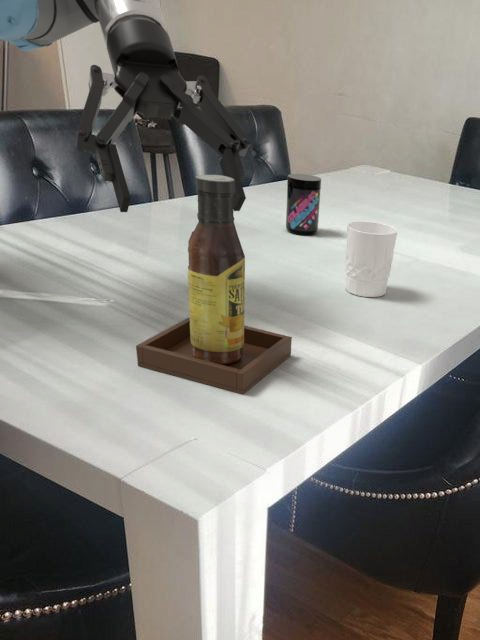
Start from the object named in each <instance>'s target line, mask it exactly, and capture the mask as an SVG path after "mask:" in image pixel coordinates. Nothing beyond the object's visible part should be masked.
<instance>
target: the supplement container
mask: <svg viewBox="0 0 480 640" xmlns="http://www.w3.org/2000/svg"><path fill="white" fill-rule="evenodd" d="M286 181H287V183H286V186H287V187H286V215H285V229H286V231H287V232H288V233H290V234H294V235H298V236H314V235H315V234H317V233H318V230H319V219H320V201H321V189H322V178H321V177H319V176H317V175H312V174H305V173H290V174H288V175H287V180H286Z"/></svg>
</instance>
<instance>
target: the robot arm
mask: <svg viewBox="0 0 480 640" xmlns="http://www.w3.org/2000/svg"><path fill="white" fill-rule="evenodd" d="M97 23H99V26H100V30H101V33H102V37H103V41H104V43H105V47H106V51H107V55H108V58H109V61H110V64H111V68H112V72H113V73H108V72H103V71H102V68H101V67H100V66H99V65H97V64H91V66H90V68H89V77H88V90H89V91H88V93H87V94H88V95H87V97H86V101H85V103H84V107H83V109H82V113H81V116H80V120H79V123H78V126H77V129H76V137H75V149H76V150H77V151H78V152H79V153H85V152H89V153H91V154H93V155H92V157H93V159H94V161H96V162H97V165H98V169H99V172H100V176H101V178H102V179H103V181H104V182H111V184H112V186H113V189H114V193H115V197H116V202H117V204H118V208H119V211H120V213H128V211H129V206H130V202H131V194H130V190H129V187H128V184H127V180H126V177H125V173H124V169H123V166H122V162H121V159H120V155H119V152H118V148H117V145H116V143H115V142H116V141H117V140H118V139H119V137H120V136H121V134H122V133H123V131H124V130H125V128H126V127H127V126H128V124H129V123H131V122H132V121H133V119H134V118H135V116H136V115H137V113H138V114H140V115H141V116H143V118H150V119H151V118H154V117H155V118H156V117H157V118H160V119H164V120H165V119H166V120H167V119H168V120H170V119H171V118H173V119H174V120H175V121H176V122H177V123H178V124H179V125H181V126H186V127H187V128H188V129H189V130H190V131H192V132H193V133H194V134H195V135H196V136H197V137H199V138H200V139H201V140H202V141H203V142H204V143H205V144H207V145H208V146H209V147H210V148H211V149H212V150H213V151H214V152H216V153H217V155H219V156H220V157H221V159H220V161H219V165H220V169H221V172H222V176H227V177H230V178H233V179H234V180H235V193H234V195H233V212H240V211H241V209H242V207H243V205H244V203H245V201H246V200H247V197H246V194H245V190H244V186H243V183H242V182H243V179H244V178H245V169H244V166H243V163H242V159H241V158H245V157H246V155H247V153H248V150H249V148H250V146H251V142H252V141H251V139H250V138H249V136H247V135H248V134H246V133H245V131H244V129H242V128H241V126H240V125H239V124H238V122H237V121H236V120H235V119H234V117H233V116H232V115H231V114H230V112H229V111H228V110H227V109H226V107H225V106H224V105H223V104H222V102H221V101H220V100H219V98H218V97H217V96H216V95H215V93H214V92H213V91H212V88H211V85H210V83H209V81H208V78H207V77H206V76H205V75H198V76H197V79H196V80H189V81H188V80H185V79H184V78H183V77H182V75H181V73H180V71H179V65H178V62H177V58H176V55H175V54H176V53H175V51H174V47H173V44H172V41H171V37H170V35H169V31H168V27H167V24H166V21H165V18H164V15H163V11H162V7H161V4H160V1H159V0H0V42H9V43H10V44H12V45H14V46H15V47H16V48H17V49H18V50H20V51H22V52H33V51H35V50H37V49H41V48H44V47H47V48H48V47H50V46H51V45H53V43H55V42H56V41H59V40H61V39H63V38H65V37H67V36H69V35H71V34H73V33H75V32H79V31H80V30H82V29H84V28H86V27H89V26H90V25H92V24H97ZM110 89H114V91H115V93H117V95H119V96H120V98H122V99H121V101H120V103H119V104H118V105H117V107H116V108H115V109H114V110H113V112H112V113H111V115H110V116H109V117H108V119H107V120H106V122H105V123H104V125H103V126H102V127H101V128H100V130H99V131H98V132H97V134H93V131H94V128H95V125H96V122H97V118H98V116H99V112H100V107H101V105H102V100H103V99H102V98H103V97H105V96H106V95H107V94H109V93H110ZM196 104H197V105H198V106H196ZM181 106H182V107H181ZM180 107H181V109H180Z"/></svg>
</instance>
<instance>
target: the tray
mask: <svg viewBox="0 0 480 640" xmlns="http://www.w3.org/2000/svg"><path fill="white" fill-rule="evenodd" d="M292 340H293V337H292V336H289V335H285V334H281V333H277V332H274V331H273V332H272V331H269V330H264V329H261V328H257V327H254V326H253V327H252V326H248V325H244V346H243V355H242V357H241V359H239V360H238V361H236V362H234V363H231V364H225V365H220V364H216V363H213V362H209V361H205V360H201V359H197V358H194V356H193V354H192V344H191V340H190V316H188V317H187V318H184V319H183V320H180V321H179V322H178V323H176V324H174V325H172V326H170V327H168V328H166V329H164V330H162V331H160V332H158V333H157V334H155V335H153V336H152V337H149V338H148V339H146V340H144V341H142V342H140V343H138V344H136V345H135V348H136V361H137V366H138V367H141V368H145V369H148V370H152V371H155V372H159V373H163V374H167V375H171V376H175V377H179V378H181V379H186V380H189V381H192V382H197V383H200V384H204V385H207V386H211V387H214V388H215V387H216V388H219V389H222V390H226V391H229V392H233V393H237V394H241V395H244V394H245V393H246V392H248V391H249V390H250V389H252V388H253V387H254V386H255V385H256V384H258V383H259V382H260V381H262V379H264V378H265V377H266V376H267V375H269V374H270V373H271V372H272V371H273V370H275V369H276V368H277V367H278V366H280V365H281V364H282V363H284V362H285V361H286V360H287V359H289V358H290V357H291V355H292Z"/></svg>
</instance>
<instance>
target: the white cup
mask: <svg viewBox="0 0 480 640" xmlns="http://www.w3.org/2000/svg"><path fill="white" fill-rule="evenodd" d="M346 225H347V226H346V244H345V245H346V247H345V285H344V287H345V288H344V289H345V290H346V291H347V292H348V293H350V294H352V295H355V296H359V297H364V298H379V297H382V296H384V295H386V292H387V287H388V281H389V277H390V274H391V270H392V263H393V260H394V253H395V248H396V241H397V236H398V229H397V228H396V227H394V226H392V225H389V224H386V223H381V222H375V221H368V220H367V221H366V220H365V221H364V220H359V221H357V220H356V221H351V222H349V223H348V224H346Z"/></svg>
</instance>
